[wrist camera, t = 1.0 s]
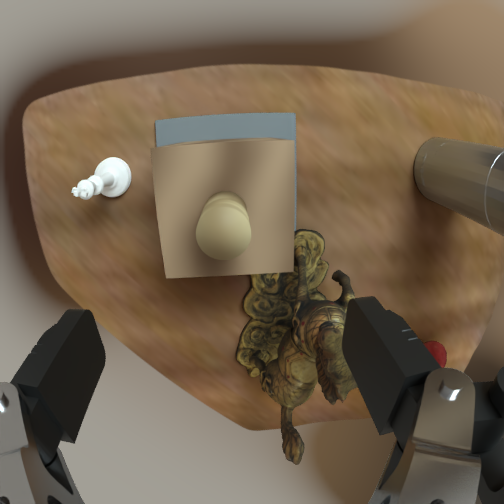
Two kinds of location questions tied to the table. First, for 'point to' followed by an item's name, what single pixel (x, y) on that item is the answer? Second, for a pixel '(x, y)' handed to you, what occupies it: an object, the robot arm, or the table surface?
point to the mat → (228, 129)
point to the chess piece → (105, 180)
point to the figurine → (297, 335)
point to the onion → (437, 352)
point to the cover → (225, 206)
